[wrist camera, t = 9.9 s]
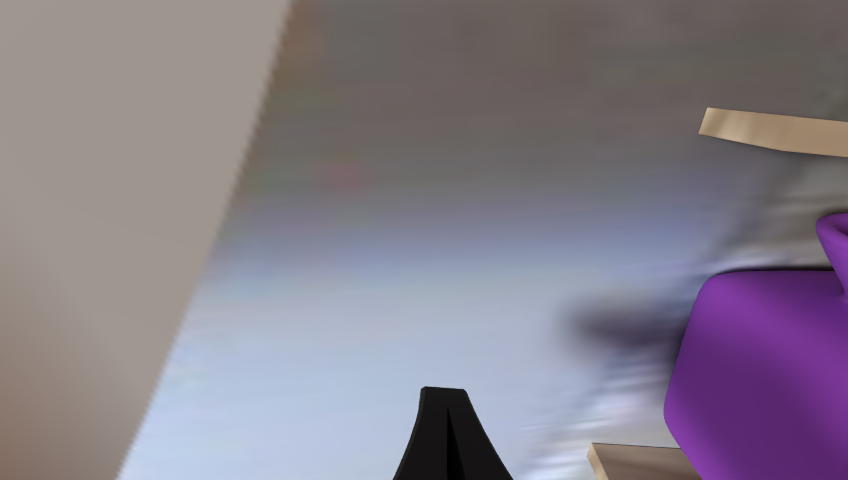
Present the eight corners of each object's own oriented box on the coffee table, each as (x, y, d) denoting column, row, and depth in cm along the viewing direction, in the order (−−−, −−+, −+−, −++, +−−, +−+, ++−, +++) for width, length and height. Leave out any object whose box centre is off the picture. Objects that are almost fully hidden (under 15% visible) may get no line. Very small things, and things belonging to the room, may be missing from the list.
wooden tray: (804, 469, 23) (876, 543, 20) (587, 456, 23) (619, 529, 19) (1015, 139, 16) (1190, 157, 13) (707, 107, 16) (796, 116, 12)
